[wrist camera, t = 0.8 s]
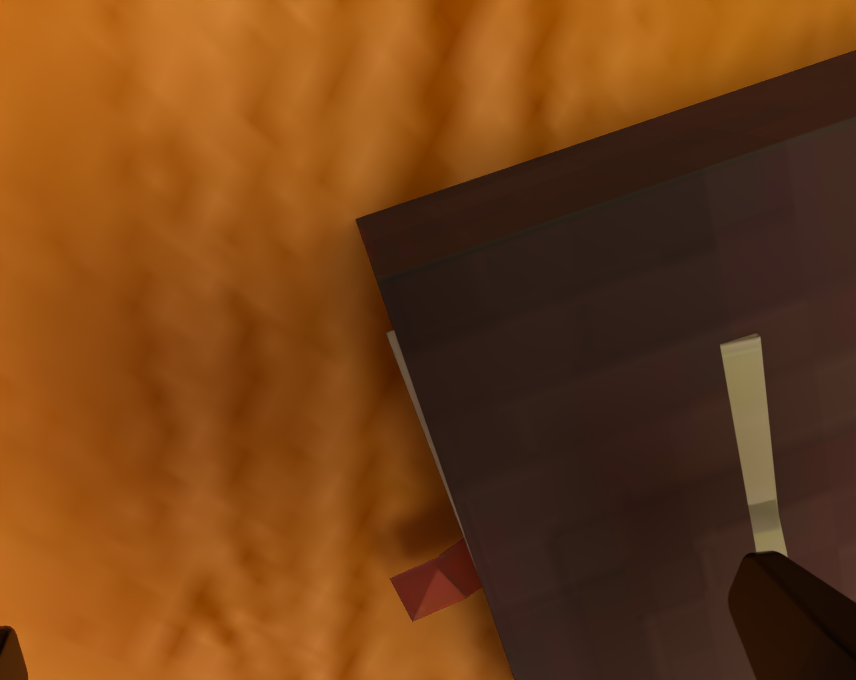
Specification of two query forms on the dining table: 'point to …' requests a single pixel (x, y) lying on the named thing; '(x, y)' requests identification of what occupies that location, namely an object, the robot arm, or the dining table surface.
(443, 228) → the decorative book
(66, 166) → the dining table surface
